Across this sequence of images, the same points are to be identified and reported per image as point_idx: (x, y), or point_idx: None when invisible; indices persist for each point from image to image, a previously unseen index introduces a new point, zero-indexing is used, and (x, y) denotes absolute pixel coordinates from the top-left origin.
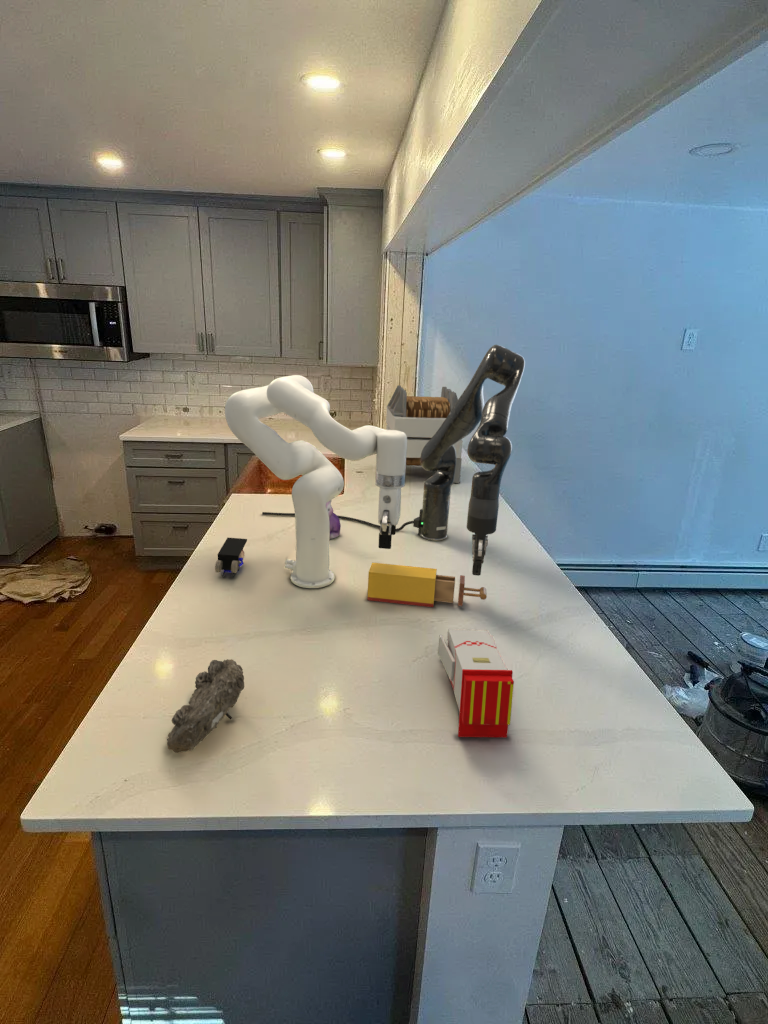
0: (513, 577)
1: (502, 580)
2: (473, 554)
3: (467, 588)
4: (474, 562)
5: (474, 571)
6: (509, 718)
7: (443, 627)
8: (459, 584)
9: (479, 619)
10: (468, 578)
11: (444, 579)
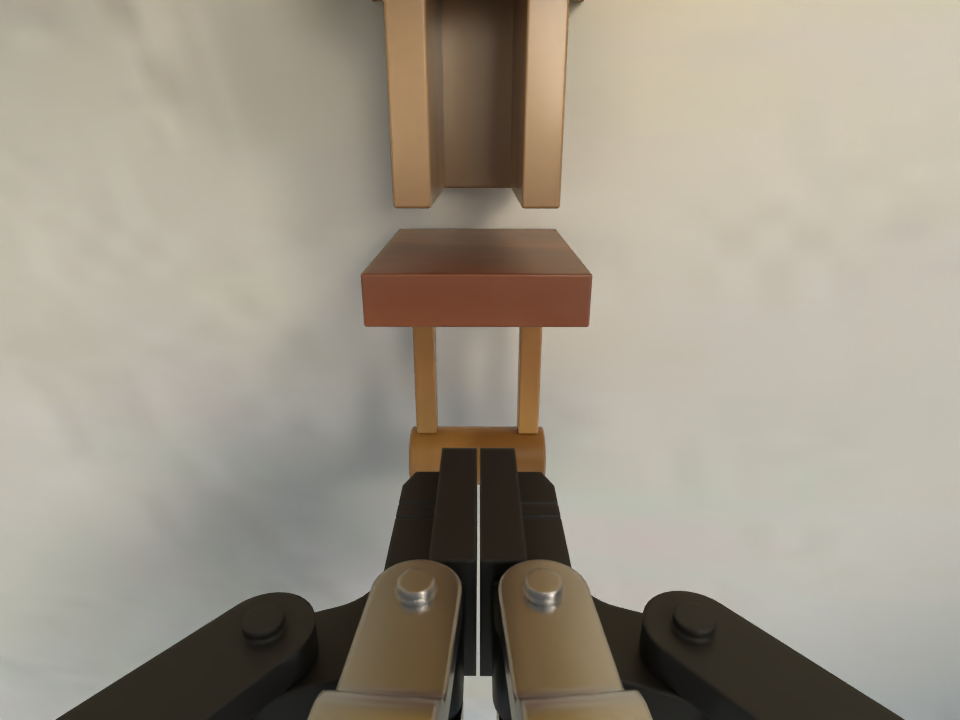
0: (952, 614)
1: (907, 547)
2: (327, 707)
3: (524, 328)
4: (235, 623)
5: (402, 498)
6: None
7: (70, 115)
8: (548, 252)
9: (290, 383)
10: (952, 310)
11: (523, 64)
